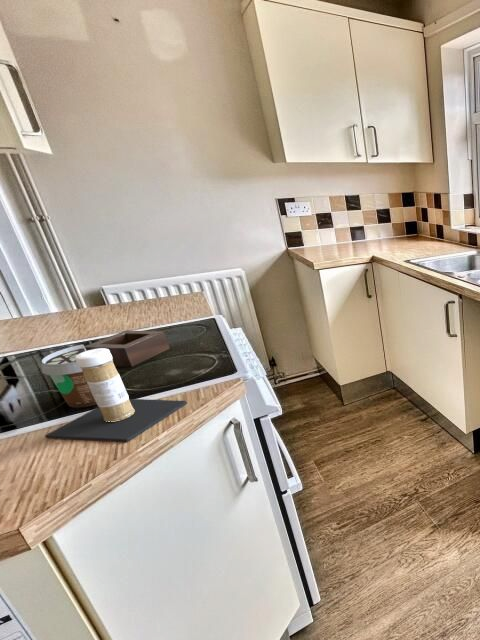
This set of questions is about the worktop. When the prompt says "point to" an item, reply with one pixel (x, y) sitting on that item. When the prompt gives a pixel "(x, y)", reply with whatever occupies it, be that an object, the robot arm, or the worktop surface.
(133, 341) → the box
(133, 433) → the rubber mat
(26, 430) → the worktop surface
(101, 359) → the sprinkles bottle
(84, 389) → the food container
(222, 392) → the worktop surface
